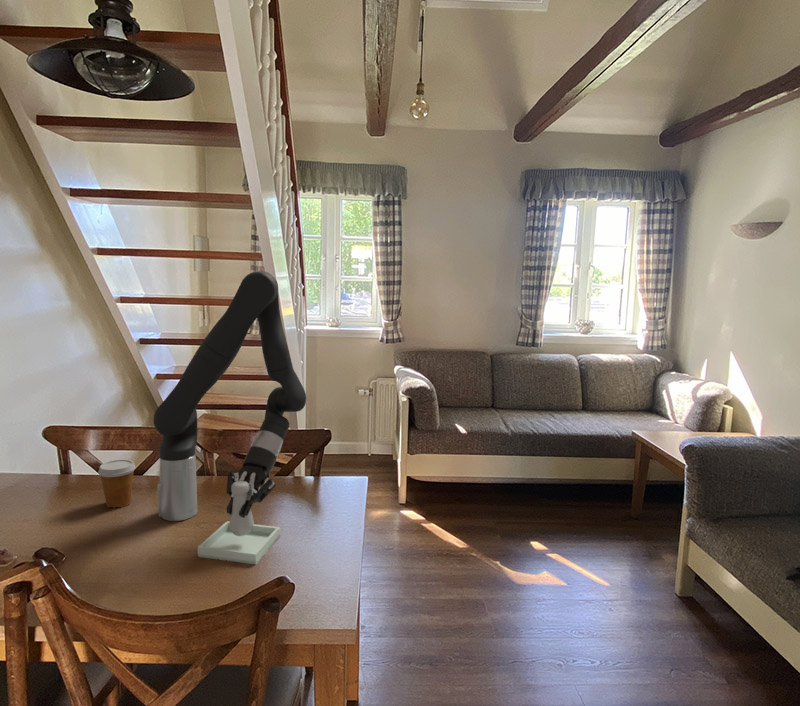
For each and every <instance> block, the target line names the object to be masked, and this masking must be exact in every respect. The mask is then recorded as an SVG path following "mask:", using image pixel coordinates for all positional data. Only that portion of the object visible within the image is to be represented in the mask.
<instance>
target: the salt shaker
mask: <svg viewBox="0 0 800 706" xmlns="http://www.w3.org/2000/svg"><path fill="white" fill-rule="evenodd" d="M231 491H232V493H233V494H234V498H233V506H232V514H231V515H230V520H229V521H230V528H231V530H232V532H233V534H234V535H237V536H244V535H247V534H248V533H250V532H251V530H252V527H253V525H254V524H255V521H254V516H253V513H252V508H251V509H250V511H249V514H248V515H247V516H245V518H243V517H241V516H239V512H240V510H241V507H242V505H243V504H245V501H247V499H246V497H247V494H248V491H249V483H248V482H246V481H239V480H238V481H237V482H234V483H233V484H232V486H231Z"/></svg>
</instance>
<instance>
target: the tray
mask: <svg viewBox="0 0 800 706" xmlns="http://www.w3.org/2000/svg"><path fill="white" fill-rule="evenodd" d="M280 537H281V527H280V526H273V525H263V524H255V523H254V525H253V527H252V530H251V532H250V533H248V534H247V535H244V536H237V535H234V534H233V532H232V530H231V528H230V520H229V521H228V520H226V522H224V523H223V524H222V525H221V526H220V527H218V529H216V530H215V531H214V532H213V533H211V535H209V536H208V537H207V538H206V539H204V541H203V542H202V543H200V544H199V545H198V546H197V557H198V558H206V559H210V560H211V559H213V560H218V559H219V560H220V561H226V560H227V561H226V562H233V563H235V562H236V563H240V564H241V563H242V564H250V565H257V564H258V563H259V562H260V561H261V560H262V558H263V557H264V556H265V555H266V553H268V551H269V550H271V548H272V547H273V546H274V544H275V543H276V542H277V541H278V540H279V539H280Z"/></svg>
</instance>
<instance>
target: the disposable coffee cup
mask: <svg viewBox="0 0 800 706" xmlns="http://www.w3.org/2000/svg"><path fill="white" fill-rule="evenodd" d="M135 469H136V465H135V463H134V461H132V460H130V459H113V460H109V461H105V462H103V463H102V464H101V465H99V469H98V471H97V472H98V474H99V476H100V480H101V485H102V491H103V495H104V499H105V504H106V507H107V506H108V507H107V508H109V507H113V508H112V509H116V508H115V507H121V508H124V507H127V506H128V504H129V505H130V504H131V502H132V493H133V481H134V472H135ZM126 505H127V506H126ZM123 506H124V507H123Z"/></svg>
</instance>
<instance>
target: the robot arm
mask: <svg viewBox="0 0 800 706" xmlns="http://www.w3.org/2000/svg"><path fill="white" fill-rule="evenodd" d="M241 280H242V281H241V282H240V284H239V287H238V288H237V291H236V292H235V295H234V297H233V299H232V300H231V301H230V304H229V306H228V307H227V309H226V311H225V312H224V313H223V315H222V316H221V317H220V319H218V321H217V322H216V323H215V325H213V326H212V328H211V329H210V331H209V332H208V334H207V335H206V336H205V338H204V339H203V341H202V342H201V344H200V345H199V347H198V348H197V350H196V352H195V353H194V355H193V357H191V359H190V361H189V363H188V365H187V366H186V368H185V370H184V371H183V374H182V375H181V378H180V379H179V381H178V382H177V384H176V385H175V386H174V388H172V390H171V392H170V393H169V394H168V395H167V397H166V398H164V400H163V401H162V403H160V405H159V406H158V407H157V408H156V410H155V411H154V414H153V425H154V428H155V430H156V431H157V432H158V433H159V434H161V435H163V436H162V437H163V438H162V440H161V443H160V446H159V449H158V451H159V452H158V453H159V470H160V471H159V473H160V474H159V475H160V482H159V483H157V486H156V487H157V507H158V517H159V518H162V519H163V520H165V521H171V522H179V521H185V520H188V519H190V518H193V517H194V516H196V515H197V514H198V492H197V491H198V490H197V461H196V460H197V459H196V447H197V442H198V411H197V406H198V404H199V403H200V401H201V400H202V398H203V397H204V396H205V395H206V394H207V392H209V390H210V389H212V387H213V386H214V385H216V383H218V381H219V380H220V379H221V377H223V375H224V374H225V373H226V371H227V370H228V369H229V367H230V366H231V365H232V363H233V361H234V359H235V358H236V357H237V355H238V353H239V351H240V349H241V348H242V346H243V344H244V343H245V342H244V341H245V339H246V337H247V334H248V332H249V330H250V328H252V327H251V326H252V325H253V324H254V322H255V321H256V320H257V321H258V327H259V332H260V334H259V335H260V341H261V350H262V351H261V352H262V356H263V360H264V364H265V368H266V371H267V375H268V378H269V380H271V381H273V382H275V383H278V384H279V385H280V386H278V387H276V388H274V389H273V390H272V391H271V392H270V393H269V395H268V397H267V400H266V407H265V413H264V419H263V422H262V423H261V426H260V428H259V429H258V432H257V433H256V435H255V436H254V438H253V441H252V442H251V445H250V447H249V449H248V450H247V453H246V455H245V458H244V460H243V464H242V467H241V468H240V469H239V470H238V472H235V473H233V472H231V471H230V472H228V473H227V483H226V494H227V495H228V496H230V500H229V502H228V505H227V507H226V513H227V514H228V515H230V516H231V514H232V506H233V498H234V494H233V493H232V491H231V486H232V484H233V483H234V482H237V481H246V482H248V483H249V491H248V492H247V497H246V499H247V501H245V504H243V505H242V507H241V510H240V512H239V516H241V517H243V518H245V516H247V515H248V514H249V511H250V509H251V510H252V506H253V505H254V504H255V503H259V504H260V503H262V502H263V500H265V498H266V497H267V496H268V495H269V494H270V493H271V492H272V491H273V489H274V488H275V487H276V483H275V482H274V481H273V479H271V478H270V474H271V472H272V471H273V469H274V466H275V464H276V462H277V459H278V457H279V454H280V453H281V449H282V446H283V443H284V441H285V438H286V435H287V433H288V432H289V428H290V421H289V420H288V418H287V417H285V416H284V413H294V412H295V413H297V412H301V411H302V410H303V409H304V407H305V406H306V404H307V394H306V390H305V388H304V386H303V384H302V382H301V380H300V379H299V377H298V375H297V373H296V371H295V370H294V367H293V362H292V359H291V354H290V350H289V347H288V343H287V338H286V335H285V332H284V328H283V324H282V318H281V317H282V316H281V310H280V302H279V284H278V281H277V279H276V278H275V277H274V276H273V274H271V273H269V271H268V272H267V271H263V270H257V271H253V272H250V273H249V274H247V275H246V276H244V278H242V279H241Z"/></svg>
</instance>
